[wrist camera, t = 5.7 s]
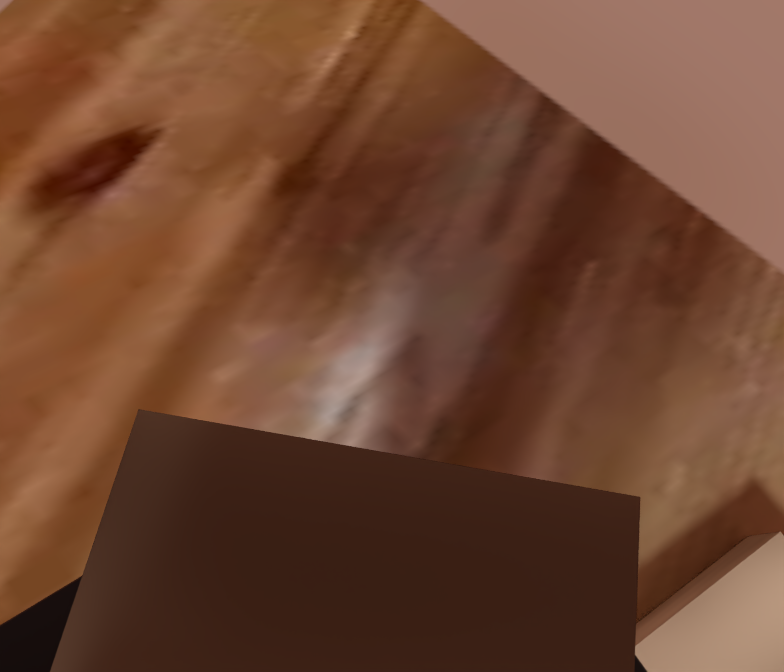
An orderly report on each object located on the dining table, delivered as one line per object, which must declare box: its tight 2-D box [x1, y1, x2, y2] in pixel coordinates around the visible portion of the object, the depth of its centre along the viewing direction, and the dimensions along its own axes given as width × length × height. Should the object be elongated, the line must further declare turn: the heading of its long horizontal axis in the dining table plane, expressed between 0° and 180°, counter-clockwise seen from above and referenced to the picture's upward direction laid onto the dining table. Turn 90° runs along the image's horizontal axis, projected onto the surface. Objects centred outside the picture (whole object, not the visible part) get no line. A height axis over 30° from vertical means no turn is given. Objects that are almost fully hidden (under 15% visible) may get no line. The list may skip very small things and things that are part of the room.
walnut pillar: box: [50, 409, 640, 672], centre depth 10 cm, size 5×5×10 cm
